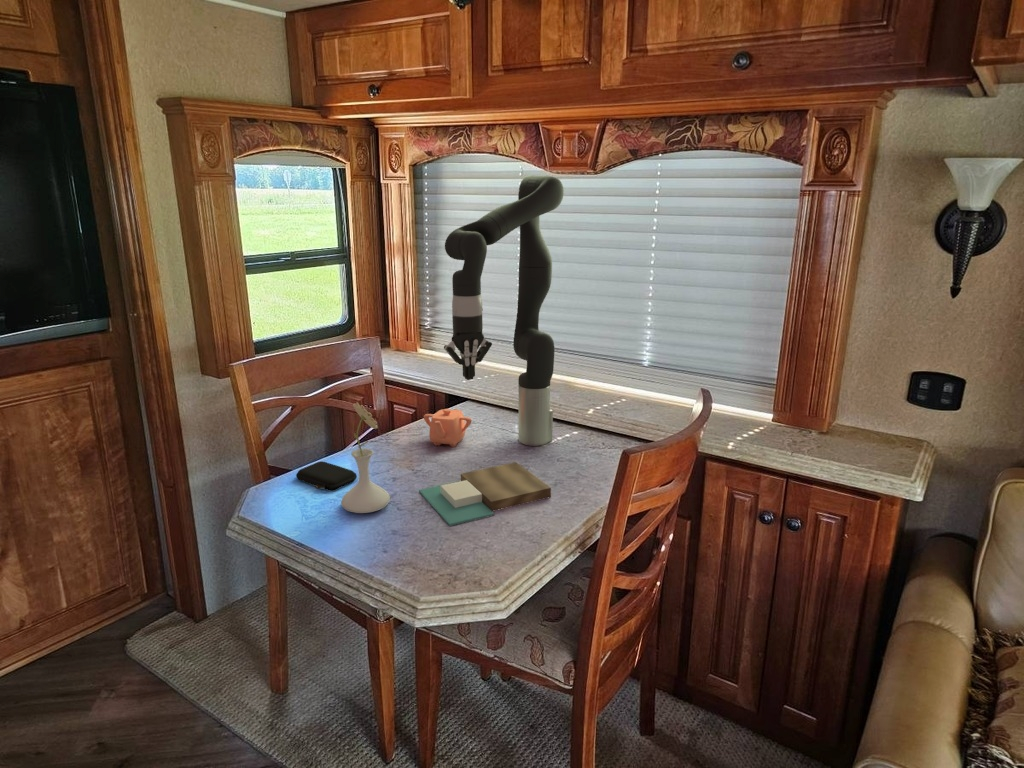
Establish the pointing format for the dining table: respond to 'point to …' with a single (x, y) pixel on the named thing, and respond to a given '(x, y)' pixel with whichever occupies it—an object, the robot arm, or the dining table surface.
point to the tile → (461, 493)
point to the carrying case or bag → (326, 476)
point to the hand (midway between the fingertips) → (468, 378)
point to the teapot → (447, 426)
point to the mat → (452, 513)
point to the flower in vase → (364, 477)
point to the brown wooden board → (507, 485)
